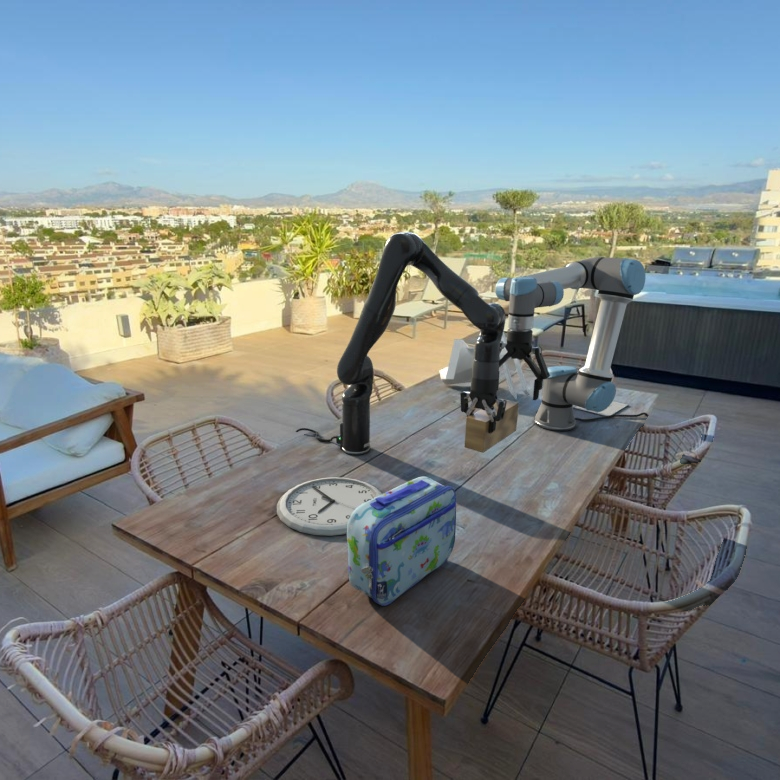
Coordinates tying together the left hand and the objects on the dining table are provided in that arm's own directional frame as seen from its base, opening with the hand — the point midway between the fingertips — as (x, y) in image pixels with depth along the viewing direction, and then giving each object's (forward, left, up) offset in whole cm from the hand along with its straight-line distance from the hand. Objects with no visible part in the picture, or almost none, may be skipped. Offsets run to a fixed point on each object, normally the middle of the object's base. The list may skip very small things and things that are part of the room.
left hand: (480, 429), depth 153 cm
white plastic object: (-32, +84, -17) cm, 92 cm away
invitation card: (+20, +94, -17) cm, 98 cm away
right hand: (+4, +20, +6) cm, 21 cm away
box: (+1, +8, -5) cm, 10 cm away
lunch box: (+4, -52, -17) cm, 54 cm away
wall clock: (-28, -35, -17) cm, 48 cm away
